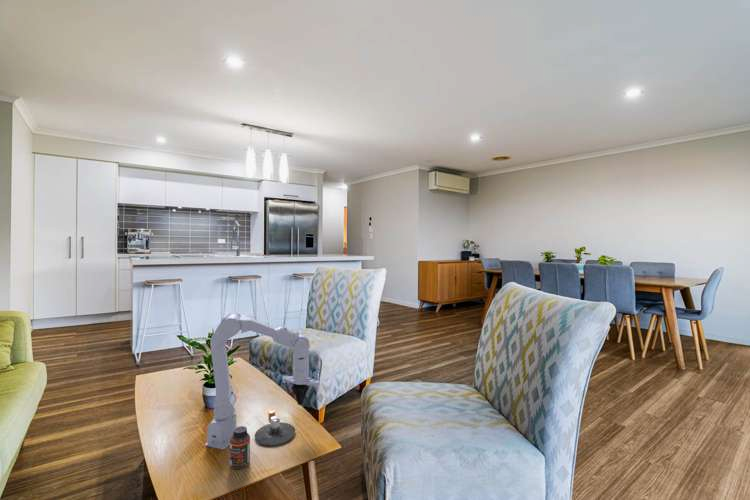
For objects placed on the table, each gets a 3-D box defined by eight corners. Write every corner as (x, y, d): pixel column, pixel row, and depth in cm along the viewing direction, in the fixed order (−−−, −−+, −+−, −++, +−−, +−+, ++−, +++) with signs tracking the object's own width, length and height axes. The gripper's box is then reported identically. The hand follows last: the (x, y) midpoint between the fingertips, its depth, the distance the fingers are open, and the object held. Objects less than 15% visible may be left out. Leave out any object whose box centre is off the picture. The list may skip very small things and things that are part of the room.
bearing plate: (281, 449, 120) (281, 446, 120) (246, 442, 125) (246, 438, 125) (302, 428, 134) (302, 425, 134) (269, 422, 138) (269, 419, 138)
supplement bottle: (228, 472, 109) (228, 435, 108) (231, 460, 114) (230, 425, 114) (249, 468, 110) (249, 432, 110) (250, 457, 116) (250, 423, 116)
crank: (280, 432, 128) (280, 419, 128) (271, 434, 127) (271, 421, 127) (275, 421, 136) (275, 409, 136) (266, 423, 135) (266, 411, 134)
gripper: (323, 366, 134) (323, 401, 134) (289, 361, 138) (289, 396, 138) (314, 372, 127) (314, 410, 127) (279, 368, 131) (279, 404, 132)
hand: (300, 403), depth 132 cm, fingers closed
